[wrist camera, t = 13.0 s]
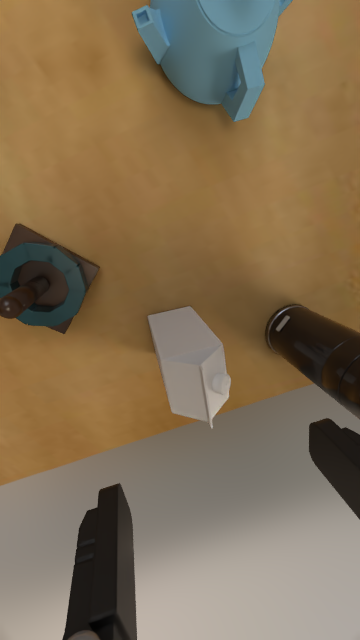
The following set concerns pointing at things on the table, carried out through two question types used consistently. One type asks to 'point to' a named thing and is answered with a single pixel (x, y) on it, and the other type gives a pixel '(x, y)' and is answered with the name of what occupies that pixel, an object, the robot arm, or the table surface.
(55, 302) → the stand
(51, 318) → the ring
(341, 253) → the table surface
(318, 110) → the table surface
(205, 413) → the milk carton
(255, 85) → the teapot
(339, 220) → the table surface
